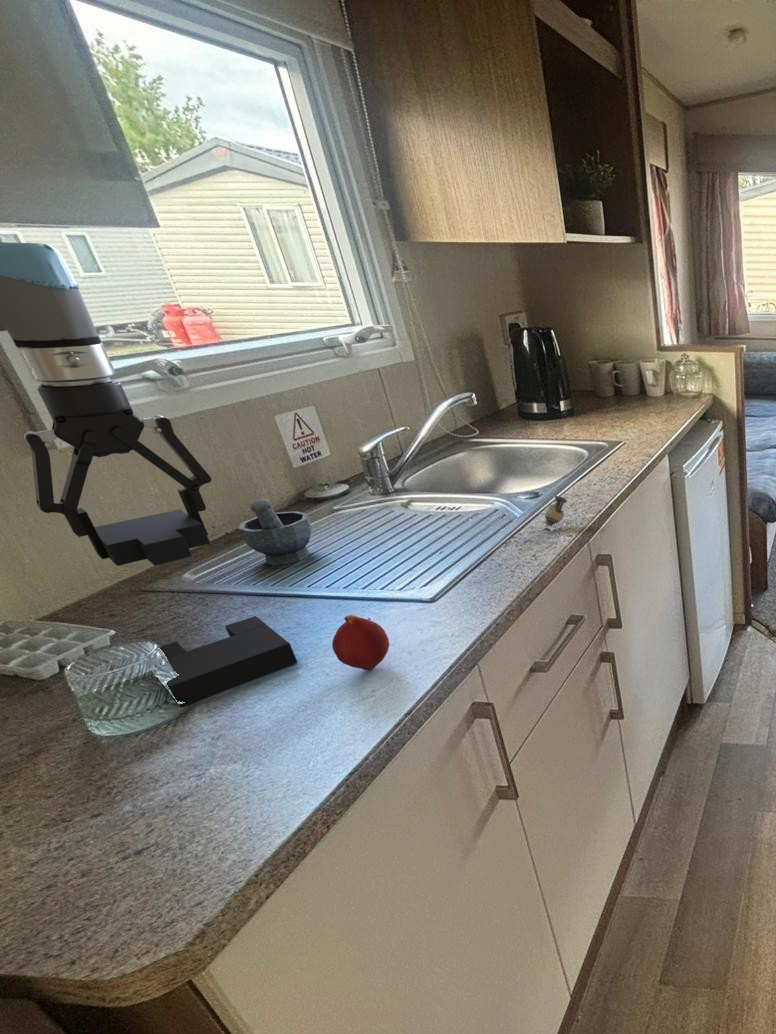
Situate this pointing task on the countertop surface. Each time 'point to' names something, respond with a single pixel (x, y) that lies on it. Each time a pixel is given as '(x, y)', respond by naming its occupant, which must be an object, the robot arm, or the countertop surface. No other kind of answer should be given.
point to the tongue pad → (152, 538)
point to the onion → (360, 643)
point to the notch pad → (227, 660)
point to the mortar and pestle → (277, 533)
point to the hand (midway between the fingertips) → (154, 544)
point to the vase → (554, 511)
